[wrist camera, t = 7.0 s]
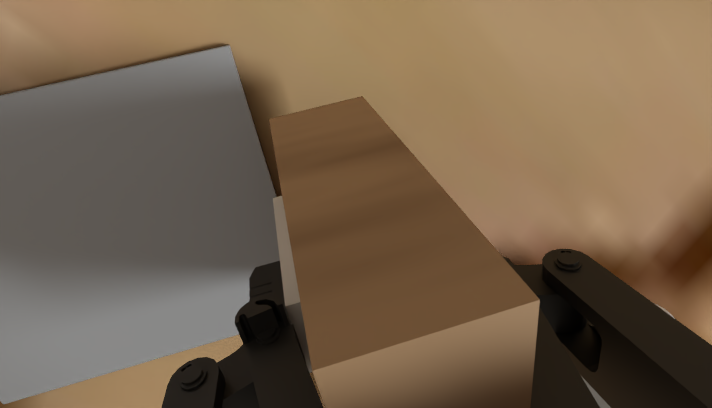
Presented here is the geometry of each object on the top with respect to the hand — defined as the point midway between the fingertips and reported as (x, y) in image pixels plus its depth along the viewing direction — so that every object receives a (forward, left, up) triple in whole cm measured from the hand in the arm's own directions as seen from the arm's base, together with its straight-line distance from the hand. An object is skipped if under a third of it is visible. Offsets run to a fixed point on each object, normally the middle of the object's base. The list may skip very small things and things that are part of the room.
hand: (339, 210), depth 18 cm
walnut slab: (0, 0, 0) cm, 0 cm away
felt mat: (0, +11, -3) cm, 11 cm away
